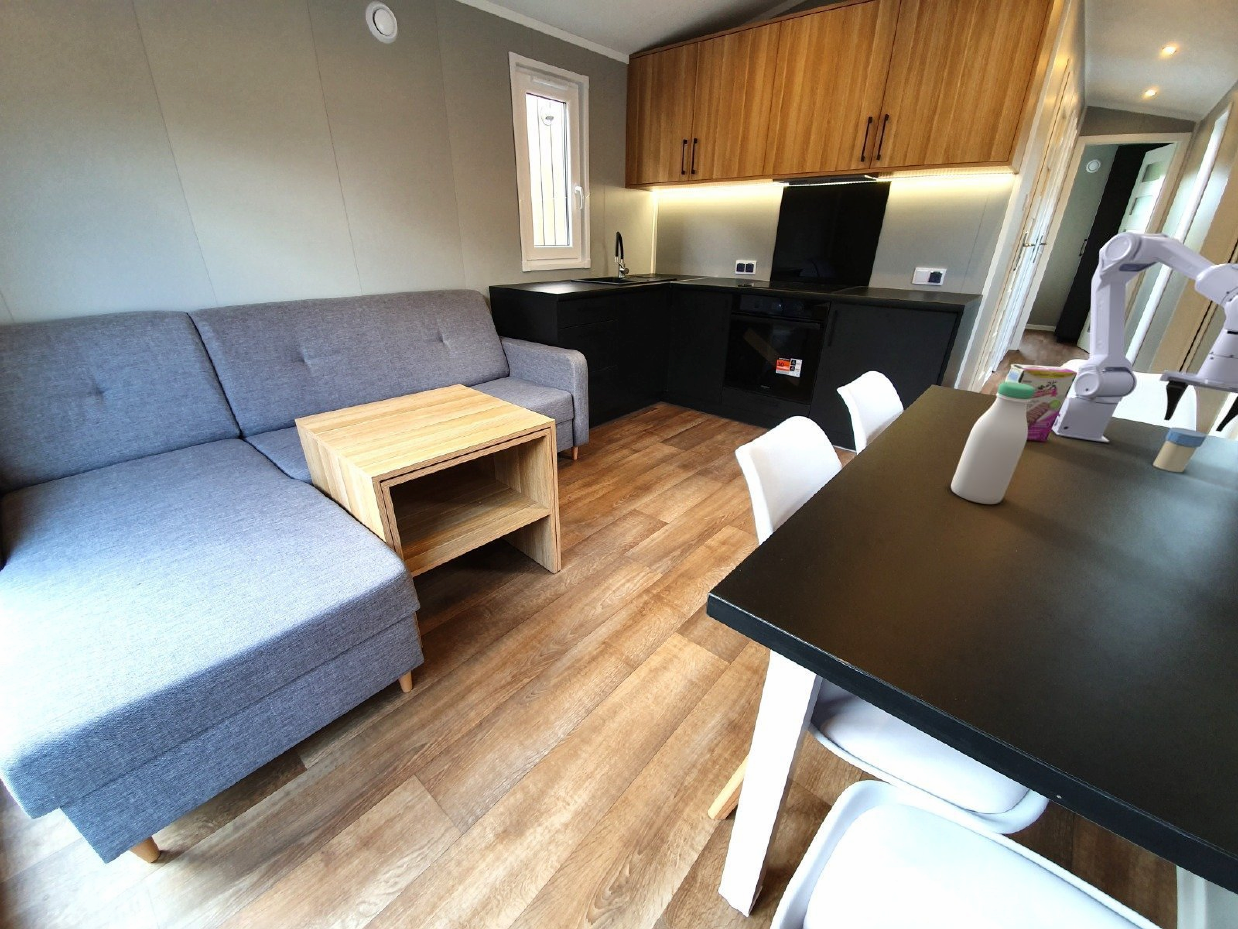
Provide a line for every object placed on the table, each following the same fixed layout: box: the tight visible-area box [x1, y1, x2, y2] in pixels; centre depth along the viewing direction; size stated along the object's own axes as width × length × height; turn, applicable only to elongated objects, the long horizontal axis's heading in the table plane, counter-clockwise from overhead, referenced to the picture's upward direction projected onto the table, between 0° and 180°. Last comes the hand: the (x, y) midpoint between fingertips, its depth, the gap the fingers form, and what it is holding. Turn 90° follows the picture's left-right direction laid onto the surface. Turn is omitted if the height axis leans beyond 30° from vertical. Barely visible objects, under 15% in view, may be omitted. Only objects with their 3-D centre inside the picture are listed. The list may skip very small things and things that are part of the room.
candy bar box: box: [1004, 363, 1078, 443], centre depth 110 cm, size 11×5×16 cm, turn 84°
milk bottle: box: [950, 381, 1035, 505], centre depth 82 cm, size 8×8×20 cm
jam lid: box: [1164, 426, 1207, 448], centre depth 97 cm, size 5×5×2 cm
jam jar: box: [1152, 439, 1198, 473], centre depth 99 cm, size 4×4×8 cm
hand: (1192, 424), depth 96 cm, fingers open, 6 cm apart
